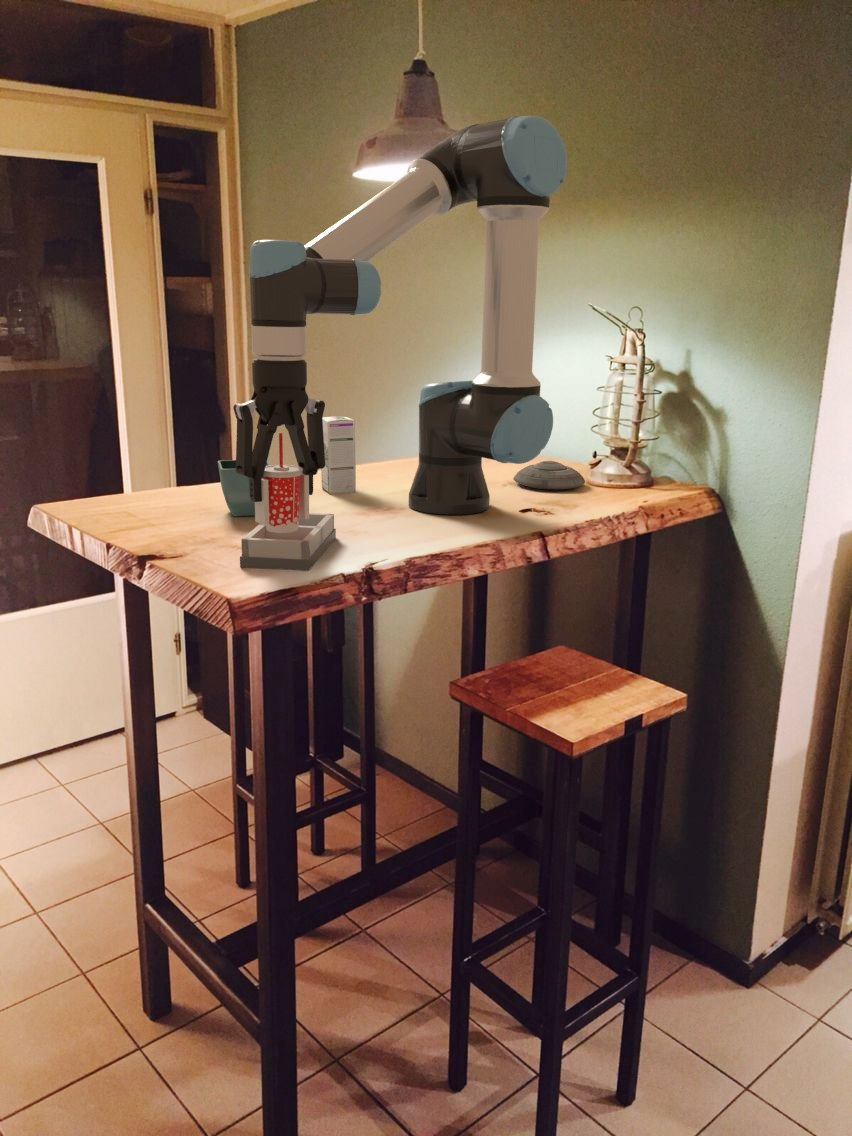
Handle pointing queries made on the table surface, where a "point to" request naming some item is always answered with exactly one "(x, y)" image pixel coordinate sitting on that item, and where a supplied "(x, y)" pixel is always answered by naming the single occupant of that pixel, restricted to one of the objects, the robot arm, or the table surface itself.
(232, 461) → the flower pot
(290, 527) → the beverage cup
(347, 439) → the syrup box
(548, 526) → the table surface
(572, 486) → the flying saucer
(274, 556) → the divided tray
